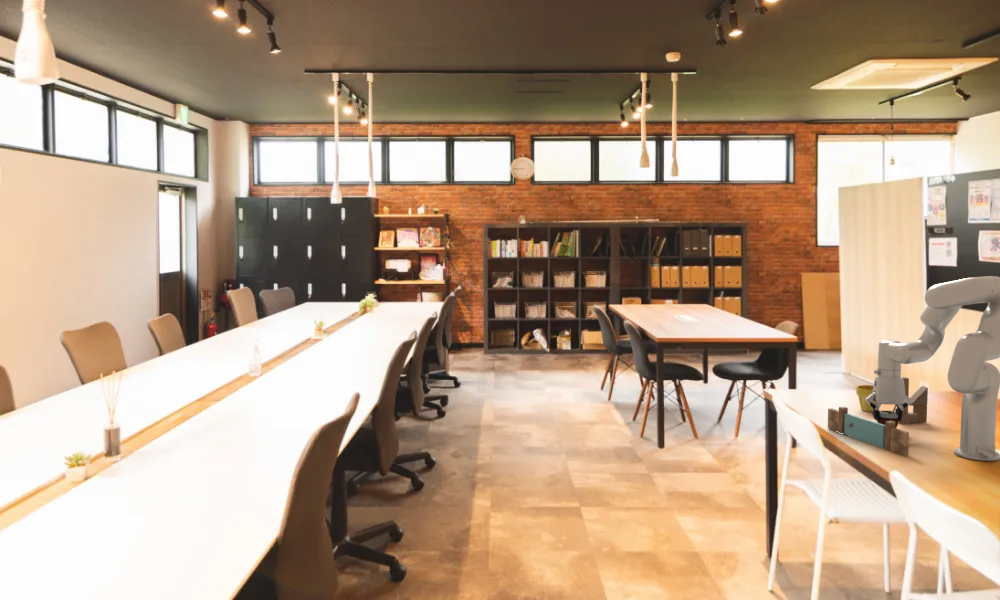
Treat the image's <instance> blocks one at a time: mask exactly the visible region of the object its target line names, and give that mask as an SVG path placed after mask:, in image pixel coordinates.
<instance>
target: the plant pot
mask: <svg viewBox="0 0 1000 600" xmlns="http://www.w3.org/2000/svg"><path fill="white" fill-rule="evenodd" d="M873 386H874V384H873V385H872V384H871V385H870V384H863V385H857V386H856V389H855V390H856V391H855V392H856V393H855V394H856V396H857V397H858V401H859V406H860V410H861V411H863V410H864V412H872V413H873V408H872V407H871V406H870V405H869V404H868V403H867V401H866V400H865V398H867V397H868V396H869V395H871V394H872V393H873ZM871 401H872V403H873V404H874V402H875V401H873V399H872V400H871Z"/></svg>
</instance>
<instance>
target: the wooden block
mask: <svg viewBox="0 0 1000 600" xmlns="http://www.w3.org/2000/svg"><path fill="white" fill-rule="evenodd" d="M901 377H902V378H903V380H904V386H905V395H906V396H907V397H909V390H910V389H909V388H910V387H909V386H910V379H909V377H906V376H901ZM928 393H929V387H926V386H924V385H921V386H920V387H919V388H918V389H917V390H916V391H915V392H914V393H913V394H912V395H911V396H910V397H909V398H910V399H911V402H910V403H909V404H908V405H907V406H906V407H905V408H904V410H903V411H902V418H901V421H899V422H898V424H901V423H902V424H927V423H928V422H927V418H928V416H927V415H928ZM909 406H912V412H910V411H909Z"/></svg>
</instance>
